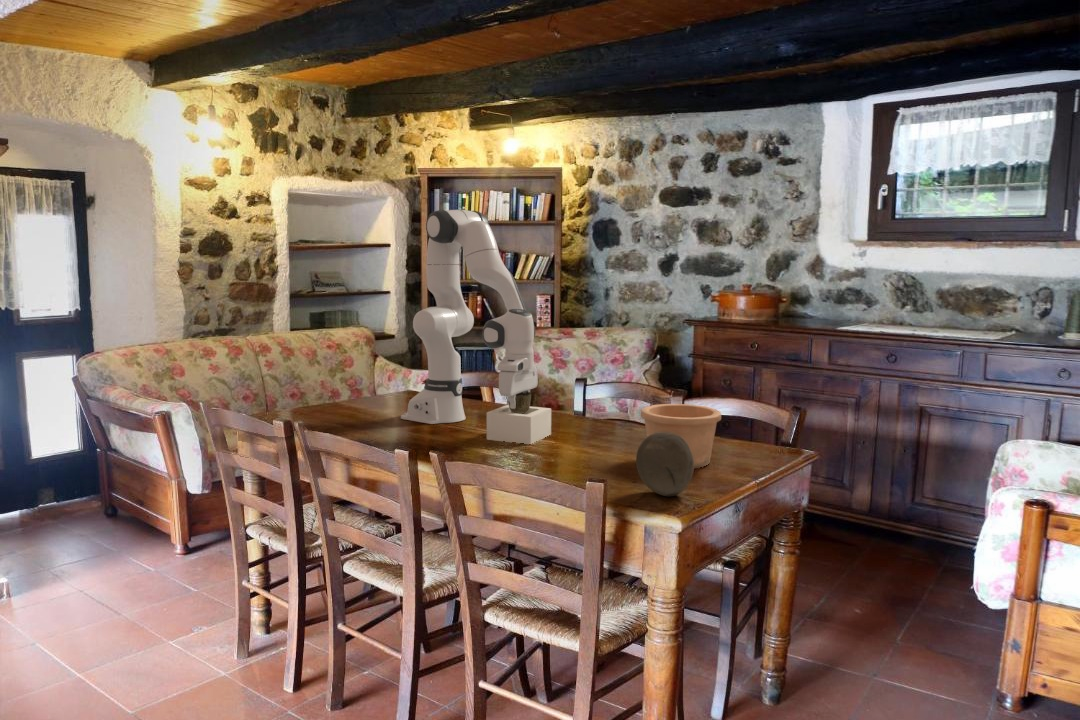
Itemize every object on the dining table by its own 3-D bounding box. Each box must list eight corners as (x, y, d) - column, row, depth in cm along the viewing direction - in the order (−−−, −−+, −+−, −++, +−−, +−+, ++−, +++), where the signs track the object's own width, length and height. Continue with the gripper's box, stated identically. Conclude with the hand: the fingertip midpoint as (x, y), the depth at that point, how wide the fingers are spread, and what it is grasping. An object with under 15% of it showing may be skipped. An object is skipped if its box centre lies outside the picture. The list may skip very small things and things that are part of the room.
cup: (503, 418, 255) (502, 393, 254) (514, 414, 261) (514, 389, 260) (524, 421, 251) (524, 395, 250) (535, 416, 258) (535, 391, 257)
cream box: (486, 439, 253) (486, 412, 252) (508, 430, 267) (508, 404, 266) (530, 444, 247) (530, 416, 246) (551, 434, 261) (551, 408, 260)
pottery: (665, 448, 244) (666, 400, 242) (733, 460, 230) (735, 410, 228) (624, 462, 227) (625, 411, 225) (695, 476, 213) (697, 422, 212)
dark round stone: (702, 492, 200) (705, 431, 198) (678, 507, 188) (679, 442, 186) (650, 482, 208) (652, 424, 206) (623, 496, 196) (624, 434, 194)
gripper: (525, 357, 265) (524, 399, 267) (495, 365, 246) (494, 410, 248) (542, 358, 262) (542, 401, 264) (513, 366, 244) (513, 412, 246)
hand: (519, 406), depth 256 cm, fingers closed on cup, 6 cm apart
